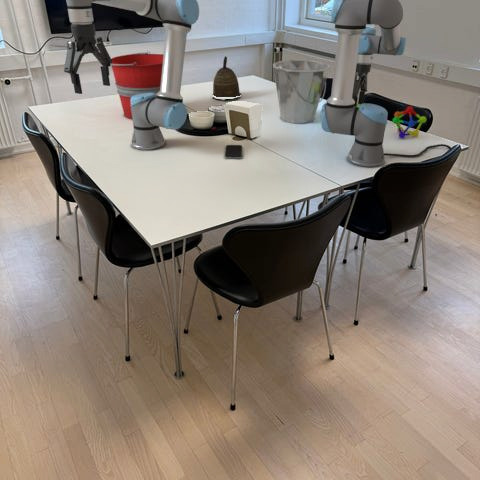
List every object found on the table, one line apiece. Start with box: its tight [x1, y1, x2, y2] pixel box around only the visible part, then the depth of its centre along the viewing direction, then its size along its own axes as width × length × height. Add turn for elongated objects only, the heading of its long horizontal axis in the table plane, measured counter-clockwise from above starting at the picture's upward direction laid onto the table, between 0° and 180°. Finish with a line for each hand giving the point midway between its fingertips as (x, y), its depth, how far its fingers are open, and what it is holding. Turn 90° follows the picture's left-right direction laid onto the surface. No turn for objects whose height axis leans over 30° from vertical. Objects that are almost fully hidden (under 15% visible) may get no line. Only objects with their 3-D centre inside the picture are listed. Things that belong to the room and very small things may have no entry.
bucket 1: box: [110, 51, 164, 120], centre depth 242 cm, size 35×35×30 cm
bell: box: [212, 56, 242, 97], centre depth 278 cm, size 19×26×20 cm
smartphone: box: [224, 144, 243, 159], centre depth 199 cm, size 7×1×15 cm
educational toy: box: [392, 106, 427, 139], centre depth 214 cm, size 16×13×15 cm
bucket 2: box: [272, 59, 331, 124], centre depth 236 cm, size 30×30×28 cm
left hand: (93, 89), depth 157 cm, fingers open, 13 cm apart
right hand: (356, 107), depth 226 cm, fingers open, 13 cm apart
